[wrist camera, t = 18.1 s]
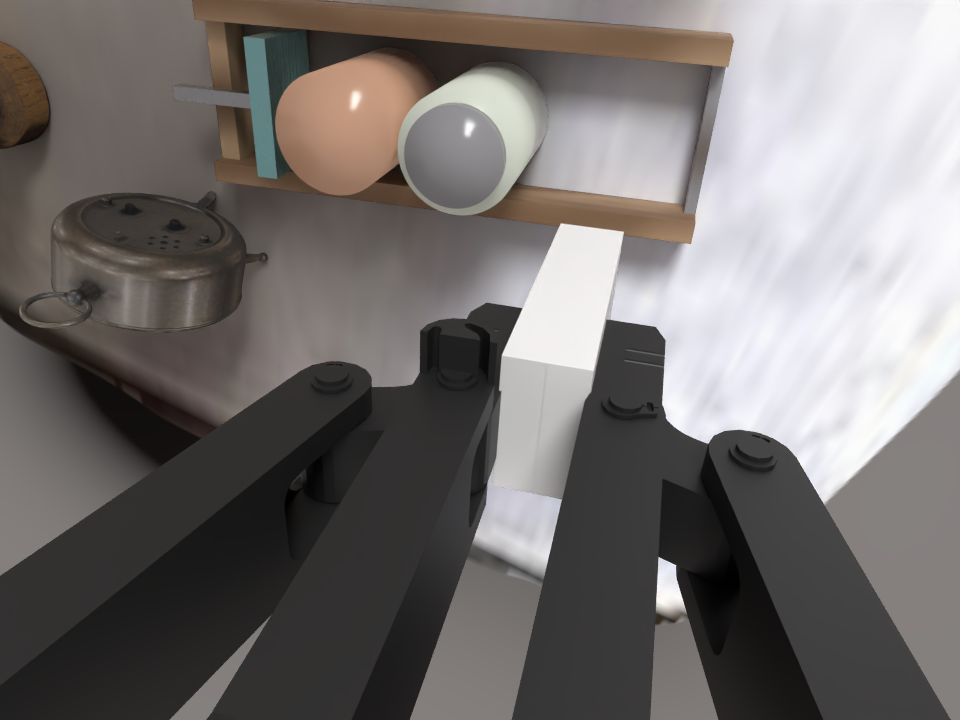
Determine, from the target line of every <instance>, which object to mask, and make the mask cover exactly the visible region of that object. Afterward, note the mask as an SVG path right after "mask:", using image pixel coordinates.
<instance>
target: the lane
mask: <svg viewBox="0 0 960 720" xmlns="http://www.w3.org/2000/svg"><path fill="white" fill-rule="evenodd" d="M192 2H193V10H194V17H195V20H205V24H206V32H207V40H208V47H209V55H210V63H211V71H212V78H213V86H214V87H216V88H226V89H235V90H244V91H249V86H248V77H247V67H246V58H245V48H244V39H243V37H244V33H243V24H251V25H262V26H273V27H284V28H296V29H307V30H318V31H329V32H340V33H352V34H363V35H374V36H385V37H397V38H408V39H419V40H430V41H442V42H453V43H464V44H475V45H487V46H498V47H509V48H520V49H532V50H543V51H554V52H565V53H577V54H588V55H599V56H610V57H622V58H633V59H644V60H655V61H667V62H678V63H689V64H700V65H712V69H711V74H710V79H709V84H708V89H707V94H706V99H705V104H704V109H703V114H702V119H701V124H700V129H699V134H698V139H697V144H696V149H695V154H694V159H693V164H692V169H691V174H690V179H689V184H688V189H687V194H686V199H685V204H684V205H680V204H672V203H664V202H656V201H648V200H640V199H632V198H624V197H616V196H607V195H599V194H591V193H583V192H575V191H567V190H559V189H551V188H543V187H535V186H526V185H518V184H513V186H512V187H511V188H510V190H509V191H508V193H507V194H506V195H505V196H504V198H503V199H502V200H501V201H499V202H498V203H497V204H496V205H494V206H493V207H491V208H490V209H488V210H486V211H484V212H481V213H478V214H473V215H477V216H484V217H492V218H499V219H507V220H514V221H522V222H529V223H537V224H544V225H552V226H560V224H569V225H577V226H584V227H592V228H599V229H607V230H614V231H622V232H624V235H627V236H635V237H642V238H650V239H658V240H665V241H673V242H680V243H688V244H691V241H692V237H693V232H694V227H695V213H696V208H697V203H698V198H699V193H700V189H701V184H702V179H703V174H704V169H705V165H706V160H707V155H708V150H709V145H710V141H711V136H712V131H713V126H714V121H715V117H716V112H717V107H718V102H719V98H720V93H721V88H722V83H723V78H724V74H725V69H726V67H728V65H729V61H730V56H731V51H732V46H733V42H734V40H733V38H732V35H731V34H729V33H717V32H704V31H692V30H679V29H667V28H655V27H642V26H630V25H618V24H605V23H593V22H581V21H568V20H556V19H543V18H531V17H519V16H506V15H494V14H482V13H469V12H457V11H444V10H432V9H420V8H407V7H395V6H383V5H370V4H358V3H346V2H333V1H321V0H192ZM216 109H217V117H218V125H219V133H220V141H221V148H222V156H223V158H221V159H219V160H217V161H215V162H214V165H215V173H216V180H217V181H220V182H228V183H235V184H243V185H250V186H258V187H266V188H273V189H281V190H288V191H296V192H303V193H311V194H318V195H326V196H333V197H341V198H348V199H356V200H364V201H371V202H379V203H386V204H394V205H401V206H409V207H416V208H424V209H431V210H437V209H435V208H433V207H431V206H430V205H428V204H427V203H425V202H424V201H423V200H422V199H420V198H419V197H418V196H417V195H416V194H415V192H414V191H413V190H412V189H411V187H410V186H409V184H408V183H407V181H406V179H405V177H404V175H403V173H402V170H397V169H391V170H390V171H389V172H387V173H386V174H385V175H383V176H382V177H381V178H379V179H378V180H377V181H376V182H374V183H373V184H372V185H370V186H369V187H368V188H366V189H364V190H363V191H360V192H358V193H355V194H351V195H332V194H327V193H324V192H321V191H319V190H317V189H315V188H313V187H311V186H310V185H308V184H307V183H305V182H304V181H303V180H301V179H300V178H299V177H298V176H297V175H296V174H295V173H294V171H293V170H292V171H290V172H288V173H287V174H285V175H283V176H282V177H280V178H278V179H273V178H266V177H258V171H257V162H256V153H255V143H254V134H253V124H252V115H251V109H249V108H240V107H231V106H222V105H216Z"/></svg>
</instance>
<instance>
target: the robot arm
mask: <svg viewBox="0 0 960 720" xmlns="http://www.w3.org/2000/svg"><path fill="white" fill-rule="evenodd" d="M623 235H624V232H622V231H614V230H607V229H599V228H592V227H584V226H577V225H569V224H560V226H559V229H558V231H557V233H556V235H555V237H554V240H553V242H552V244H551V246H550V249H549V251H548V253H547V255H546V258H545V260H544V262H543V264H542V267H541V269H540V271H539V273H538V275H537V278H536V280H535V282H534V284H533V287H532V289H531V291H530V293H529V296H528V298H527V300H526V302H525V305H524V307H523V308H517V307H511V306H504V305H498V304H491V303H485V304H484V305H482V306H480V307H478V308H477V309H475V310H473V311H472V312H471V313H470V314H469V316H468V318H467V319H455V318H453V319H445V320H438V321H436V322H433V323H430V324H428V325H426V326H425V327H424V328H423V329H422V330H421V331H420V373H419V375H418V377H417V378H416V380H415V382H414V383H413V384H412V385H407V386H399V387H372V379H371V376H370V374H369V373H368V372H367V371H366V370H365V369H363V368H361V367H359V366H358V365H356V364H351V363H346V362H339V361H336V362H334V361H331V362H325V363H320V364H316V365H312V366H310V367H308V368H306V369H304V370H302V371H300V372H298V373H297V374H296V375H294V376H293V377H291V378H290V379H288V380H287V381H285V382H284V383H282V384H281V385H279V386H278V387H276V388H275V389H274V390H272V391H271V392H269V393H268V394H266V395H265V396H263V397H262V398H260V399H259V400H257V401H256V402H254V403H253V404H252V405H250V406H249V407H247V408H246V409H244V410H243V411H241V412H240V413H238V414H237V415H235V416H234V417H232V418H231V419H230V420H228V421H227V422H225V423H224V424H222V425H221V426H219V427H218V428H216V429H215V430H213V431H212V432H210V433H209V434H208V435H206V436H205V437H203V438H202V439H200V440H199V441H197V442H196V443H194V444H193V445H192V446H190V447H189V448H187V449H186V450H184V451H183V452H181V453H180V454H178V455H177V456H175V457H174V458H172V459H171V460H169V461H168V462H167V463H165V464H164V465H162V466H161V467H159V468H158V469H156V470H155V471H153V472H152V473H151V474H149V475H148V476H146V477H145V478H143V479H142V480H140V481H139V482H137V483H136V484H134V485H133V486H131V487H130V488H128V489H127V490H125V491H124V492H123V493H121V494H120V495H118V496H117V497H115V498H114V499H112V500H111V501H109V502H108V503H106V504H105V505H104V506H102V507H101V508H99V509H98V510H96V511H95V512H93V513H92V514H90V515H89V516H87V517H86V518H84V519H83V520H81V521H80V522H79V523H77V524H76V525H74V526H73V527H71V528H70V529H68V530H67V531H65V532H64V533H62V534H61V535H59V536H58V537H57V538H55V539H54V540H52V541H51V542H49V543H48V544H46V545H45V546H43V547H42V548H41V549H39V550H37V551H36V552H35V553H33V554H32V555H30V556H29V557H27V558H26V559H24V560H23V561H21V562H20V563H18V564H17V565H15V566H14V567H13V568H11V569H10V570H8V571H7V572H5V573H4V574H3V575H1V576H0V720H169V719H171V717H172V716H173V715H174V714H175V713H176V712H177V711H178V710H179V709H180V708H181V707H182V706H183V705H184V704H185V703H186V702H187V701H188V700H189V699H190V698H191V697H192V696H193V695H194V694H195V693H196V692H197V691H198V690H199V689H200V688H201V687H202V686H203V684H204V683H205V682H206V681H207V680H208V679H209V678H210V677H211V676H212V675H213V674H214V673H215V672H216V671H217V670H218V669H219V668H220V667H221V666H222V665H223V664H224V663H225V662H226V661H227V660H228V659H229V657H231V656H232V655H233V654H234V653H235V652H236V651H237V649H238V648H239V647H240V646H241V645H242V644H243V643H244V642H245V641H246V640H247V639H248V638H249V637H250V636H251V635H252V634H253V633H254V632H255V631H256V630H257V629H258V628H259V627H260V626H261V625H262V624H263V623H264V622H265V621H266V620H267V619H268V618H269V617H270V616H271V617H270V619H269V620H268V622H267V623H266V625H265V627H264V628H263V630H262V632H261V633H260V635H259V637H258V638H257V640H256V641H255V643H254V645H253V646H252V648H251V650H250V651H249V653H248V654H247V656H246V658H245V659H244V661H243V663H242V664H241V666H240V667H239V669H238V671H237V672H236V674H235V676H234V677H233V679H232V681H231V682H230V684H229V685H228V687H227V689H226V690H225V692H224V694H223V695H222V697H221V699H220V700H219V702H218V703H217V705H216V707H215V708H214V710H213V712H212V713H211V714H210V716H209V717H208V718H207V720H410V717H411V715H412V712H413V709H414V706H415V703H416V700H417V698H418V695H419V692H420V689H421V686H422V683H423V680H424V678H425V675H426V672H427V669H428V666H429V664H430V661H431V658H432V655H433V652H434V649H435V647H436V644H437V641H438V638H439V635H440V632H441V629H442V627H443V624H444V621H445V618H446V615H447V612H448V609H449V607H450V604H451V601H452V598H453V595H454V593H455V590H456V587H457V584H458V581H459V579H460V576H461V573H462V569H463V567H464V564H465V562H466V559H467V556H468V553H469V550H470V547H471V545H472V542H473V539H474V536H475V533H476V530H477V528H478V525H479V522H480V519H481V516H482V513H483V511H484V508H485V505H486V495H487V482H488V479H489V476H490V474H491V471H492V468H493V476H492V485H493V486H498V487H503V488H508V489H513V490H518V491H523V492H528V493H533V494H538V495H543V496H548V497H553V498H558V499H562V502H561V507H560V511H559V516H558V520H557V524H556V529H555V533H554V537H553V542H552V546H551V551H550V555H549V559H548V564H547V568H546V572H545V577H544V581H543V585H542V590H541V594H540V599H539V603H538V608H537V612H536V616H535V620H534V625H533V629H532V634H531V638H530V642H529V647H528V651H527V655H526V660H525V665H524V669H523V673H522V678H521V682H520V686H519V690H518V695H517V699H516V704H515V708H514V713H513V717H512V720H650V709H651V691H652V670H653V652H654V651H653V650H654V632H655V613H656V594H657V574H658V557H660V558H662V559H664V560H666V561H669V562H671V563H673V564H675V565H677V566H676V576H677V581H678V584H679V588H680V591H681V595H682V598H683V601H684V605H685V608H686V612H687V615H688V618H689V622H690V625H691V628H692V632H693V635H694V638H695V642H696V645H697V649H698V652H699V655H700V659H701V662H702V665H703V669H704V672H705V676H706V679H707V682H708V686H709V689H710V692H711V696H712V699H713V703H714V706H715V709H716V713H717V716H718V719H719V720H951V719H950V718H949V716H948V714H947V713H946V711H945V709H944V708H943V706H942V704H941V703H940V701H939V699H938V697H937V696H936V694H935V692H934V691H933V689H932V687H931V686H930V684H929V682H928V681H927V679H926V677H925V675H924V674H923V672H922V670H921V669H920V667H919V665H918V663H917V662H916V660H915V659H914V657H913V655H912V653H911V652H910V650H909V648H908V646H907V645H906V643H905V641H904V640H903V638H902V636H901V635H900V633H899V631H898V630H897V628H896V626H895V624H894V623H893V621H892V619H891V618H890V616H889V614H888V613H887V611H886V609H885V607H884V606H883V604H882V602H881V601H880V599H879V598H878V596H877V594H876V592H875V591H874V589H873V587H872V586H871V584H870V582H869V580H868V579H867V577H866V575H865V573H864V572H863V570H862V568H861V567H860V565H859V563H858V562H857V560H856V558H855V557H854V555H853V553H852V551H851V550H850V548H849V546H848V545H847V543H846V541H845V540H844V538H843V536H842V534H841V533H840V531H839V529H838V528H837V526H836V524H835V523H834V521H833V519H832V518H831V516H830V514H829V512H828V511H827V509H826V507H825V506H824V504H823V502H822V500H821V499H820V497H819V495H818V494H817V492H816V490H815V489H814V487H813V485H812V483H811V482H810V480H809V478H808V477H807V475H806V473H805V472H804V470H803V468H802V467H801V465H800V463H799V461H798V460H797V458H796V457H795V456H794V455H793V453H792V452H791V451H790V450H789V449H788V448H787V447H786V446H784V445H783V444H781V443H779V442H778V441H776V440H775V439H773V438H771V437H768V436H766V435H762V434H760V433H757V432H751V431H744V430H731V431H724V432H721V433H719V434H717V435H715V436H713V438H712V439H711V441H710V442H709V444H707V443H704V442H701V441H699V440H696V439H694V438H692V437H690V436H687V435H685V434H683V433H682V432H680V431H679V430H677V429H676V428H674V427H673V426H672V425H671V424H670V423H669V422H668V421H667V419H666V415H665V411H664V408H663V406H662V395H663V377H664V359H665V357H664V355H665V339H664V338H663V336H662V335H661V334H660V332H659V331H658V329H657V328H656V327H652V326H646V325H639V324H633V323H626V322H620V321H613V320H610V317H611V310H612V304H613V298H614V292H615V285H616V279H617V273H618V266H619V260H620V254H621V248H622V241H623ZM299 474H300V476H301V477H300V478H298V479H297V480H296V481H295V482H294V483H292V482H293V481H294V480H295V478H296V477H297V476H298V475H299ZM291 483H292V484H291ZM272 613H273V614H272ZM271 614H272V615H271Z"/></svg>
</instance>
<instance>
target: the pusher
mask: <svg viewBox="0 0 960 720" xmlns="http://www.w3.org/2000/svg"><path fill="white" fill-rule="evenodd" d="M243 39H244V48H245V58H246V67H247V77H248V86H249V91H244V90H235V89H226V88H216V87H207V86H198V85H188V84H178V85H174V86H173V91H174V98H175V100H177V101H186V102H195V103H204V104H213V105H222V106H231V107H240V108H249V109H251V115H252V124H253V134H254V143H255V153H256V162H257V171H258V177H266V178H273V179H278V178H280V177H282V176H283V175H285V174H287V173H288V172H290V171H292V169H291V168H290V166H289V165H288V163H287V162H286V160H285V158H284V156H283V154H282V152H281V149H280V147H279V144H278V140H277V135H276V127H275V119H276V111H277V107H278V104H279V101H280V99H281V97H282V95H283V93H284V91H285V90H286V89H287V87H288V86H289V85H290V84H291V83H292V82H293V81H295V80H296V79H298V78H299V77H301V76H303V75H305V74H308V73H309V59H308V44H307V29H296V28H282V29H277V30H272V31H268V32H263V33H259V34H254V35H250V36H245V37H243Z"/></svg>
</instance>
